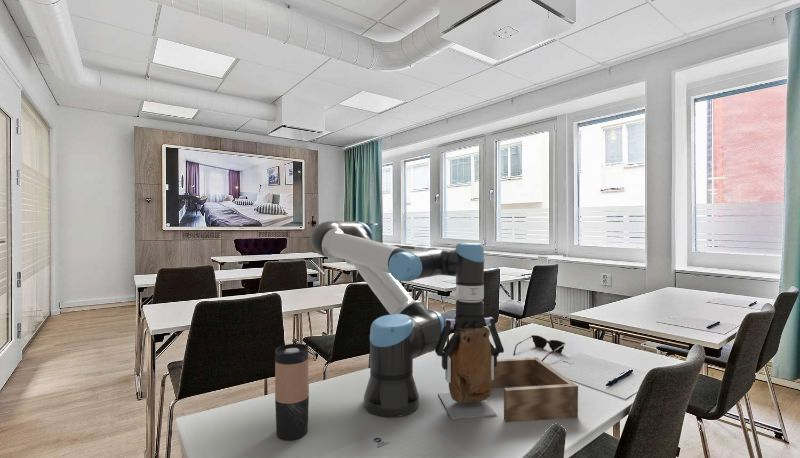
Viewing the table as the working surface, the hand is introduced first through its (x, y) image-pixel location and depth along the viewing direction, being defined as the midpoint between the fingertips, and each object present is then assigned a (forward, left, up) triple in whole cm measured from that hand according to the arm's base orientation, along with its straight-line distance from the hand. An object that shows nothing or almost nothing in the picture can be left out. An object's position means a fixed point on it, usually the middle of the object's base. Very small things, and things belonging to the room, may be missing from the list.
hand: (469, 379), depth 105 cm
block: (0, 0, -5) cm, 5 cm away
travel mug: (-46, -8, -7) cm, 47 cm away
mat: (-1, 0, -7) cm, 7 cm away
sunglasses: (+39, +35, -8) cm, 53 cm away
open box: (+16, 0, -7) cm, 17 cm away
